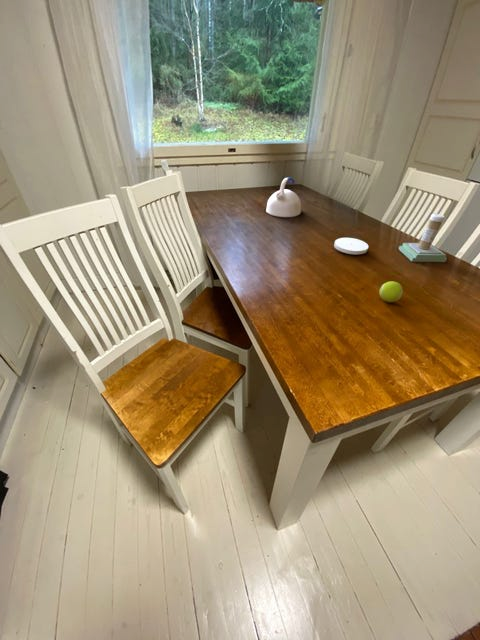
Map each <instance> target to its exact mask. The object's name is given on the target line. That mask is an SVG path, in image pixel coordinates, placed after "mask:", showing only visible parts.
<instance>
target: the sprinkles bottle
mask: <svg viewBox="0 0 480 640" xmlns="http://www.w3.org/2000/svg"><path fill="white" fill-rule="evenodd" d="M445 218H446V216H445V215H444V214H440V213H432V214H431V216H430V218H429V220H428V223H427V225H426V227H425V230H424V232H423V234H422V235H421V238H420V241H419V242H418V243H419V245H418V247H419V248H421V249H426V250H427V249H430V246H431V244H432V245H433V243H434V241H435V238H436V237H437V234H438V232H439V230H440V227H441V226H442V223H443V222H444V220H445Z"/></svg>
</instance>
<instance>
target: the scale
mask: <svg viewBox="0 0 480 640" xmlns="http://www.w3.org/2000/svg"><path fill="white" fill-rule="evenodd" d="M409 243H410V242H403V243H402V245H399V246H398V250H399V251H400V252H401V254H403V255H404V256H405V257H406V258H407V259H408V260H409V261H410V262H411V263H417V262H418V263H446V262H447V260H448V258H447V254H445V253H444V252H443V251H442V250H440V249H439V248H437V247H436V246H435V245H434V244H433V243H432V244H431V245H432V246H433V247H434V248H435V249H437V250H438V251H439V252H441V254H418V253H417V252H416V251H415V250H414V249H413V248H411V247H410V246H409V245H408V244H409ZM412 243H413V244H419V243H420V242H412Z"/></svg>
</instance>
